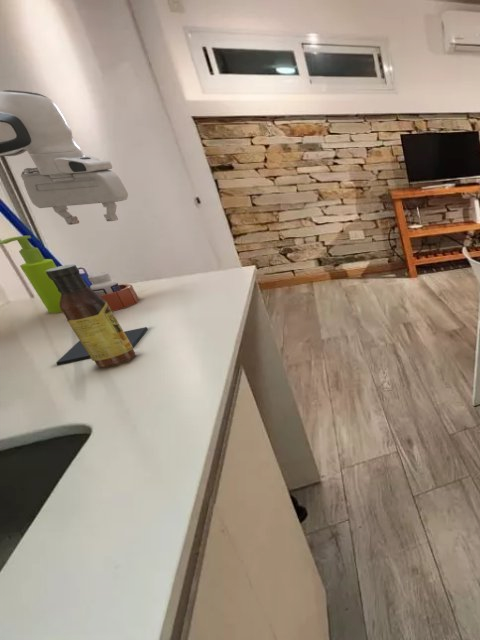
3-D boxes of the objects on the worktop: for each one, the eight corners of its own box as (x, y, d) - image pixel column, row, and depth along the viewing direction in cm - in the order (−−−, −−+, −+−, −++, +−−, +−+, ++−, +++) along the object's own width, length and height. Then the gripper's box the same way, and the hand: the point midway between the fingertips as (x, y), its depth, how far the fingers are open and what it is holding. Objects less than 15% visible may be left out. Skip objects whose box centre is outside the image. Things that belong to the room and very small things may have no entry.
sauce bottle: (142, 357, 97) (89, 264, 88) (103, 371, 92) (43, 274, 83) (130, 351, 100) (78, 260, 91) (91, 365, 95) (32, 270, 86)
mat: (57, 365, 96) (55, 362, 96) (80, 343, 106) (78, 340, 106) (132, 348, 101) (131, 346, 101) (147, 329, 111) (146, 326, 110)
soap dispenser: (39, 314, 126) (-9, 240, 117) (70, 304, 132) (27, 233, 123) (54, 315, 124) (7, 240, 116) (85, 305, 130) (42, 233, 122)
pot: (85, 316, 122) (75, 300, 120) (99, 304, 130) (90, 289, 128) (132, 307, 126) (124, 291, 124) (143, 296, 134) (135, 281, 132)
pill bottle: (124, 301, 131) (107, 270, 127) (131, 303, 128) (114, 272, 125) (99, 308, 127) (81, 276, 123) (106, 311, 124) (88, 279, 121)
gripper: (4, 170, 111) (38, 228, 117) (95, 163, 112) (124, 221, 118) (30, 167, 117) (62, 223, 123) (117, 160, 118) (144, 216, 124)
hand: (93, 222), depth 121 cm, fingers open, 8 cm apart
